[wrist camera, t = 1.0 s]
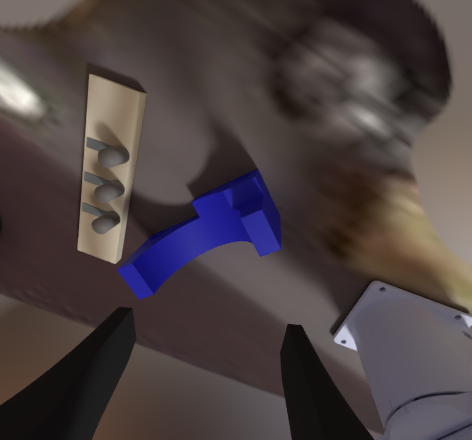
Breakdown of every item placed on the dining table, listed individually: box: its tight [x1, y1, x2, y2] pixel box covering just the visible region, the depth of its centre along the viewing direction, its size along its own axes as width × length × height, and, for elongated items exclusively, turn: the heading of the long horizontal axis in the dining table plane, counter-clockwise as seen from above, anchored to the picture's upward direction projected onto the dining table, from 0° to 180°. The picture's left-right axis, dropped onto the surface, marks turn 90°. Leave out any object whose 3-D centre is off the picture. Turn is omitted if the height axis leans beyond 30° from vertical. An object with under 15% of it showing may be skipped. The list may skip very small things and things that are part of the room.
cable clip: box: [117, 169, 281, 299], centre depth 20 cm, size 12×4×6 cm, turn 117°
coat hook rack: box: [78, 74, 147, 264], centre depth 21 cm, size 4×16×3 cm, turn 162°
